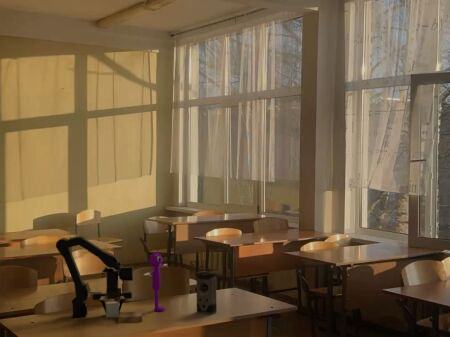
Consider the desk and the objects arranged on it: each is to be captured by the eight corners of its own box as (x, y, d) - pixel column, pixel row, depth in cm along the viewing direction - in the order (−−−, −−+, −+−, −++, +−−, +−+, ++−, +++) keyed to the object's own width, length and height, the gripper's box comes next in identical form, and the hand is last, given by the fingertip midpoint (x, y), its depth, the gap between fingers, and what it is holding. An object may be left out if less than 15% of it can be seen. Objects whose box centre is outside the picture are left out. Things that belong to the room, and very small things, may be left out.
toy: (153, 319, 291) (153, 256, 291) (138, 318, 292) (137, 255, 292) (174, 303, 324) (173, 247, 325) (160, 303, 326) (159, 246, 326)
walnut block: (118, 323, 285) (118, 317, 285) (118, 318, 295) (118, 312, 295) (142, 322, 286) (142, 316, 286) (141, 317, 296) (141, 311, 296)
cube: (106, 317, 296) (106, 304, 296) (106, 314, 302) (106, 302, 302) (118, 316, 297) (118, 304, 297) (118, 313, 302) (118, 301, 302)
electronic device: (195, 312, 303) (195, 272, 303) (201, 310, 308) (201, 270, 308) (211, 314, 298) (211, 273, 299) (217, 312, 304) (217, 272, 304)
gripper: (91, 284, 290) (92, 317, 290) (131, 283, 293) (132, 315, 293) (93, 280, 301) (93, 312, 301) (131, 279, 304) (131, 310, 304)
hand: (112, 312), depth 299 cm, fingers closed on cube, 6 cm apart
